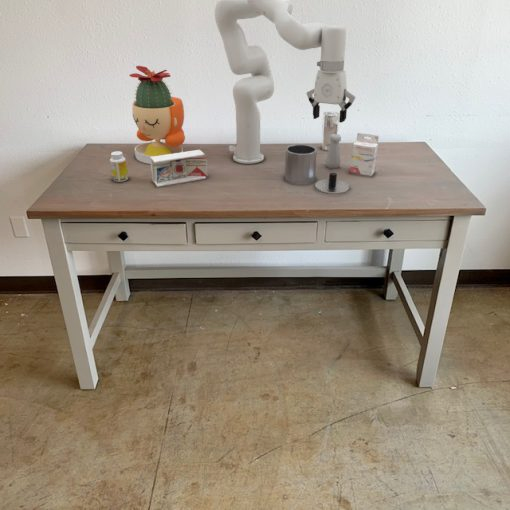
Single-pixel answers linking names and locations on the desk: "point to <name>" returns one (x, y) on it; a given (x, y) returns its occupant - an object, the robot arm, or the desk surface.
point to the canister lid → (332, 185)
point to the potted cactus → (157, 116)
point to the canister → (300, 163)
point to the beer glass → (329, 127)
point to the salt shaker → (334, 152)
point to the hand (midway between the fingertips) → (329, 119)
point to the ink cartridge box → (364, 154)
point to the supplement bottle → (118, 167)
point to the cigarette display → (178, 167)
